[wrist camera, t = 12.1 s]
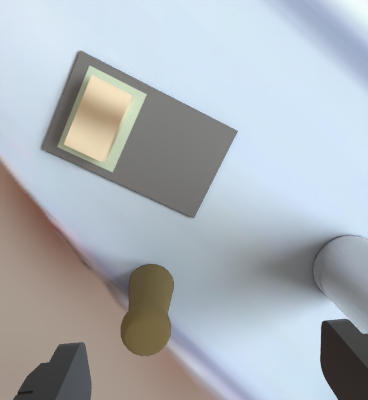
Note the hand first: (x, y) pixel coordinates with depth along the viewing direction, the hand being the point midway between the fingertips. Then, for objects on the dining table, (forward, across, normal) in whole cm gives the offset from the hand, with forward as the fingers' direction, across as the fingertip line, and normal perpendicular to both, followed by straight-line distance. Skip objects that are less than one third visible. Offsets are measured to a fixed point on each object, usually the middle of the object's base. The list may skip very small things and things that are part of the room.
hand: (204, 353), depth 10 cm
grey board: (+28, +4, -7) cm, 29 cm away
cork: (+28, +5, +12) cm, 31 cm away
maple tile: (+27, +8, -10) cm, 30 cm away
